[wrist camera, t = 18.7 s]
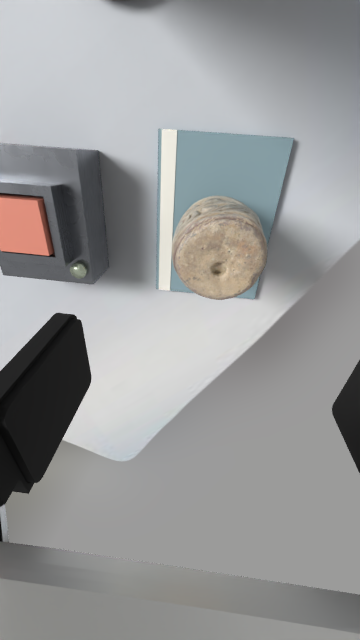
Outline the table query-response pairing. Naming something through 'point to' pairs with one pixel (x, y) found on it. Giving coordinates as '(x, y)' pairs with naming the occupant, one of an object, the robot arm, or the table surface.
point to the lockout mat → (214, 184)
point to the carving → (219, 248)
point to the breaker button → (24, 225)
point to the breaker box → (59, 211)
